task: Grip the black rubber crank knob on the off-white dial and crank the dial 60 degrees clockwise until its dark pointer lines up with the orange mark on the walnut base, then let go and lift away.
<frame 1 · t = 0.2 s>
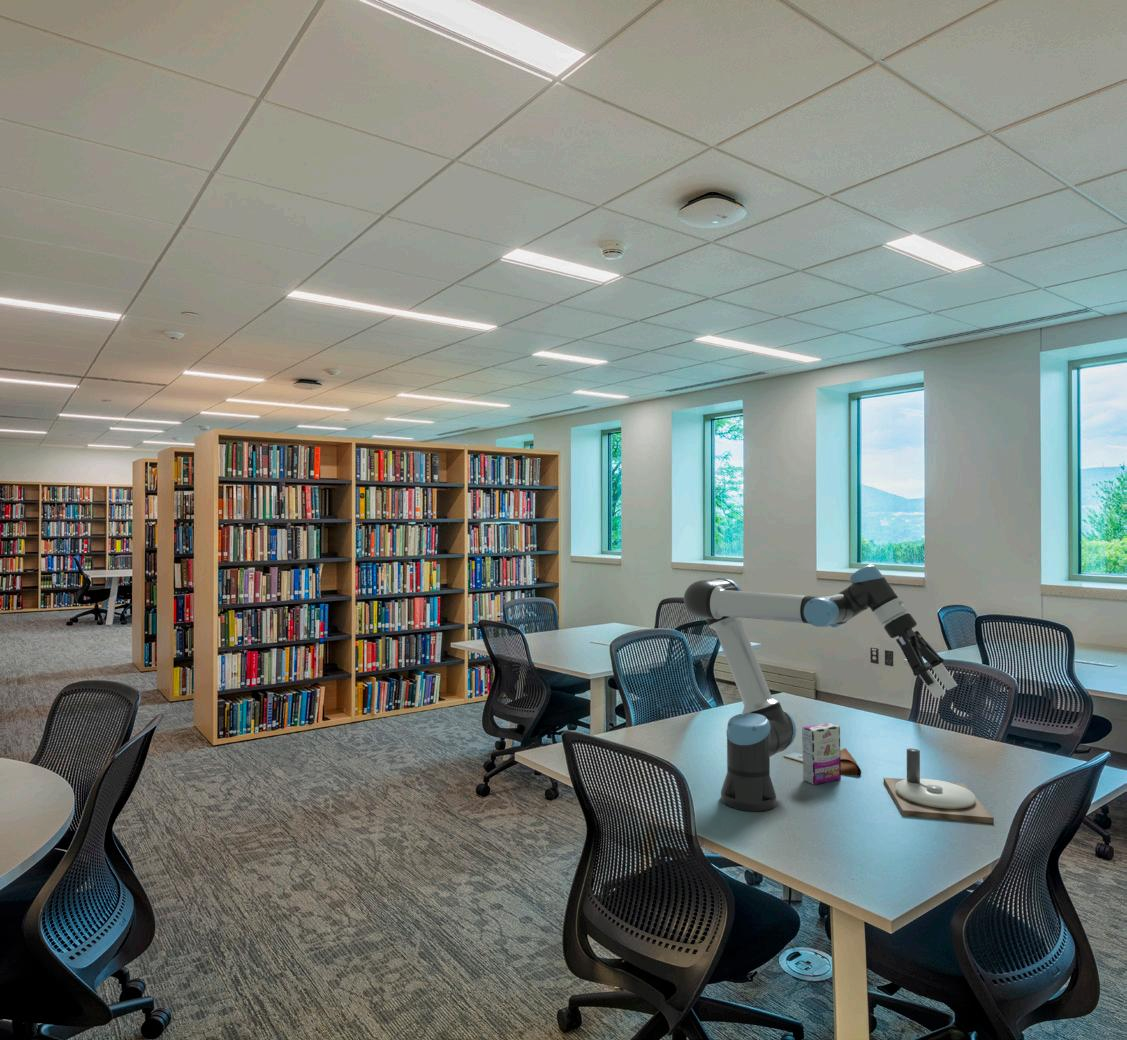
hand: (946, 692, 185), 36 cm above the table, tool tilted 35°, fingers open, 13 cm apart
dial base: (934, 801, 206), on the table
dial: (934, 776, 206), point 7 cm above the table, hinge at 0.0°
sunglasses case: (841, 768, 236), on the table
candy bar box: (821, 780, 223), on the table
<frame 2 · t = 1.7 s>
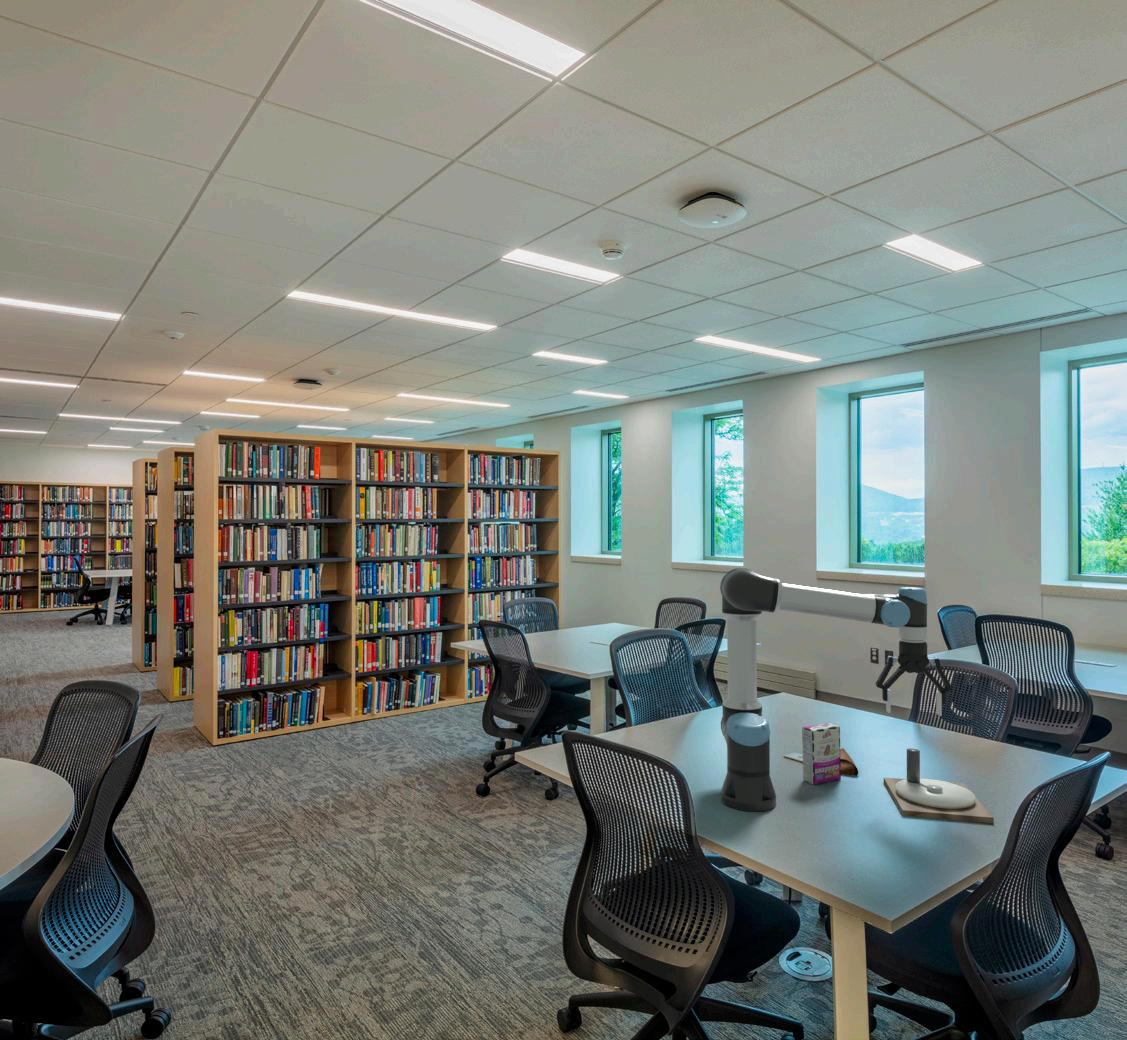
hand: (913, 713, 213), 23 cm above the table, tool pointing down, fingers open, 13 cm apart
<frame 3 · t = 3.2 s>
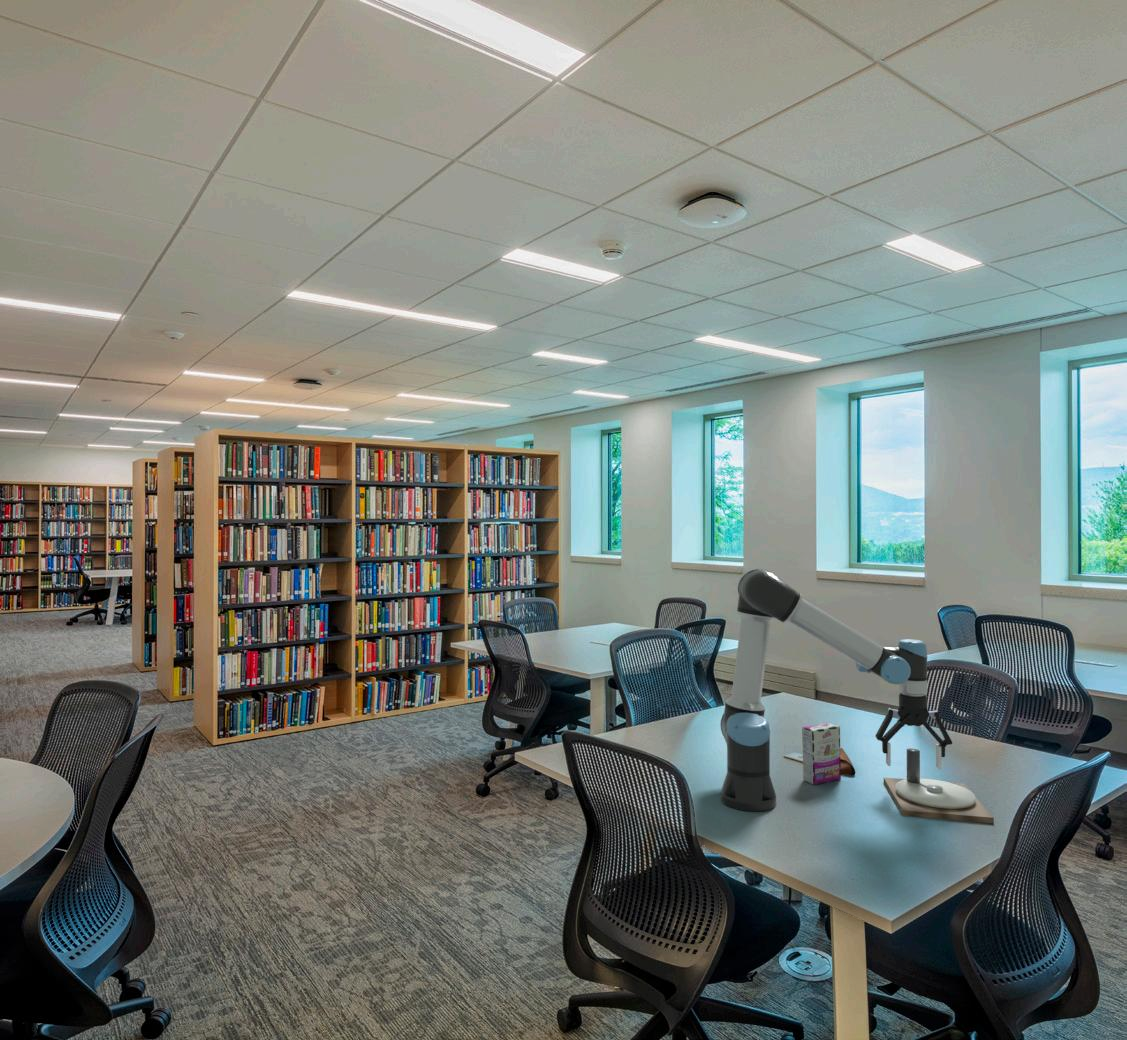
hand: (913, 766, 214), 7 cm above the table, tool pointing down, fingers open, 13 cm apart
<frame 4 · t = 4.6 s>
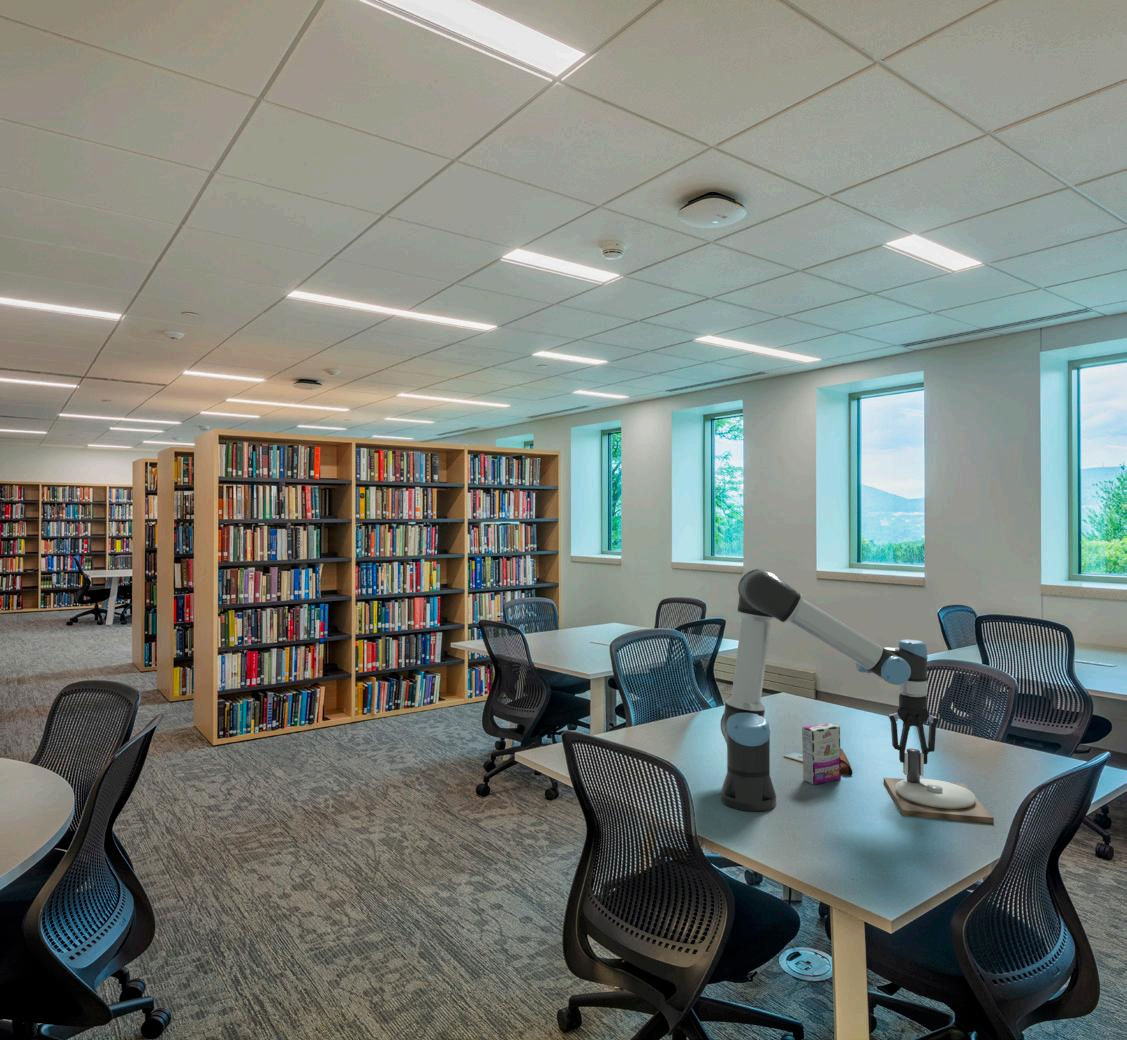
hand: (913, 774, 214), 5 cm above the table, tool pointing down, fingers closed on dial, 3 cm apart
dial: (934, 776, 206), point 7 cm above the table, hinge at 0.0°, touching gripper
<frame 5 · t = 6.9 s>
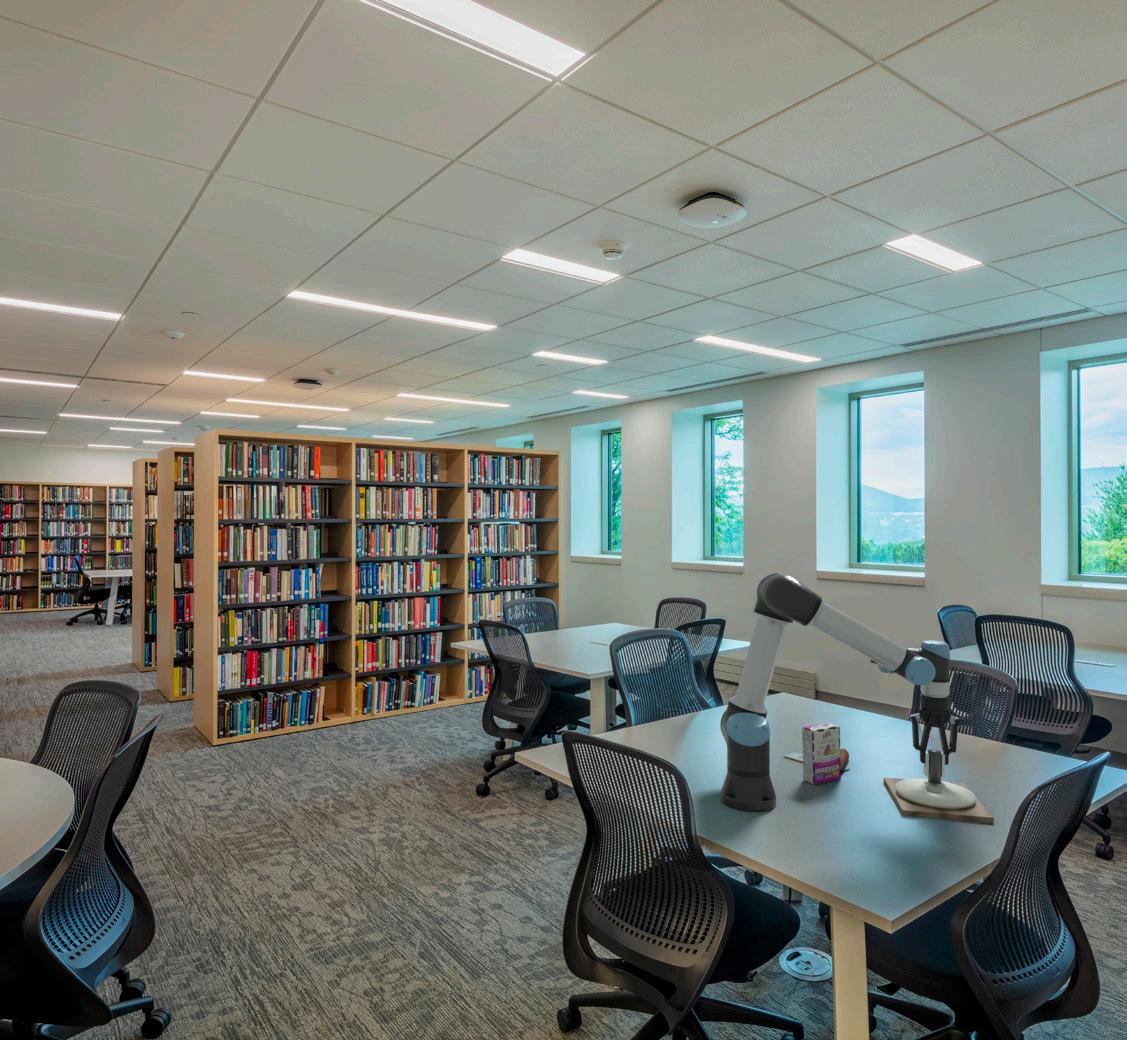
hand: (934, 774, 213), 5 cm above the table, tool pointing down, fingers closed on dial, 4 cm apart
dial: (934, 776, 206), point 7 cm above the table, hinge at -43.8°, touching gripper
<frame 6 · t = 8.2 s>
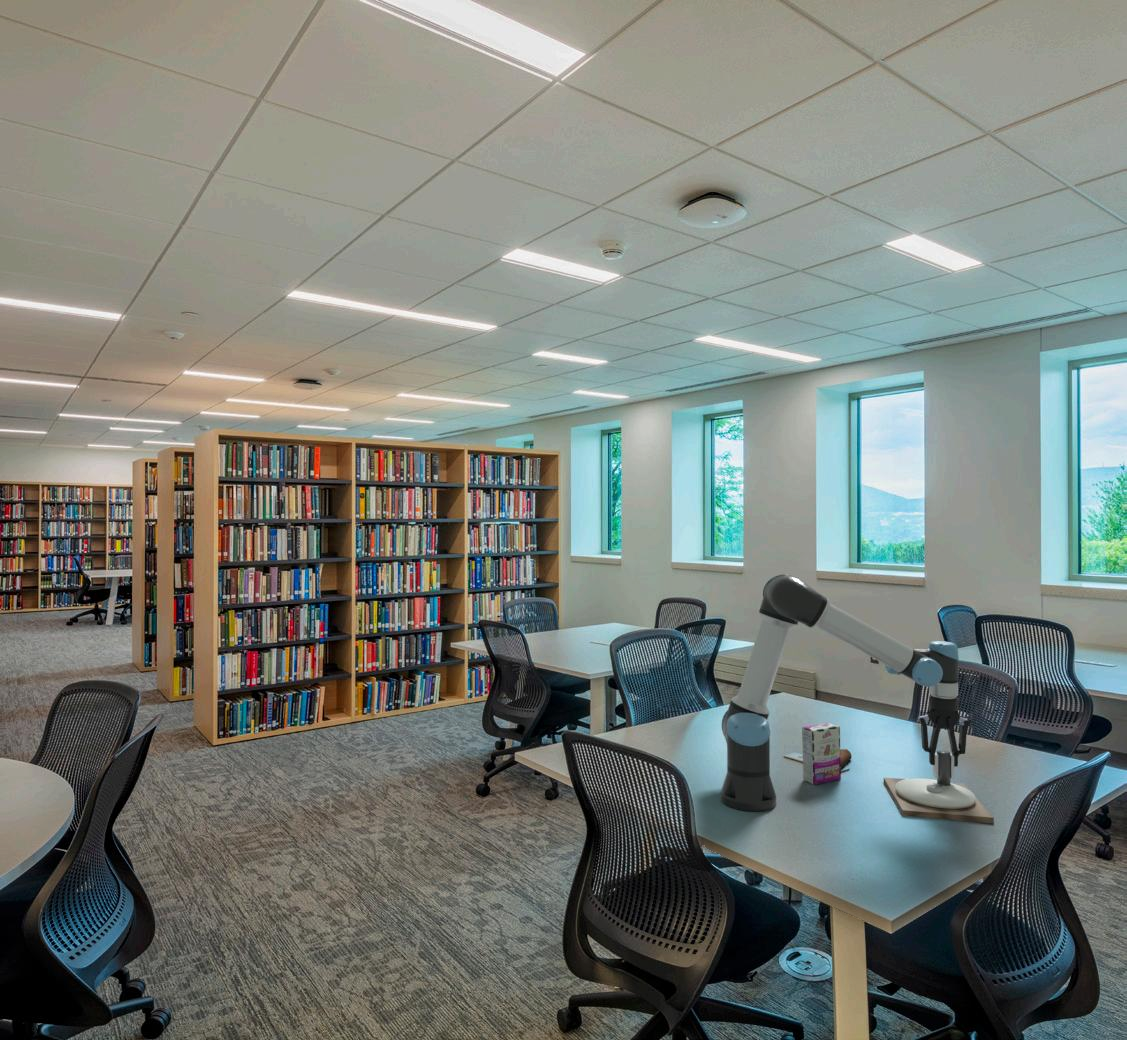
hand: (943, 776, 212), 5 cm above the table, tool pointing down, fingers closed on dial, 3 cm apart
dial: (934, 776, 206), point 7 cm above the table, hinge at -60.9°, touching gripper
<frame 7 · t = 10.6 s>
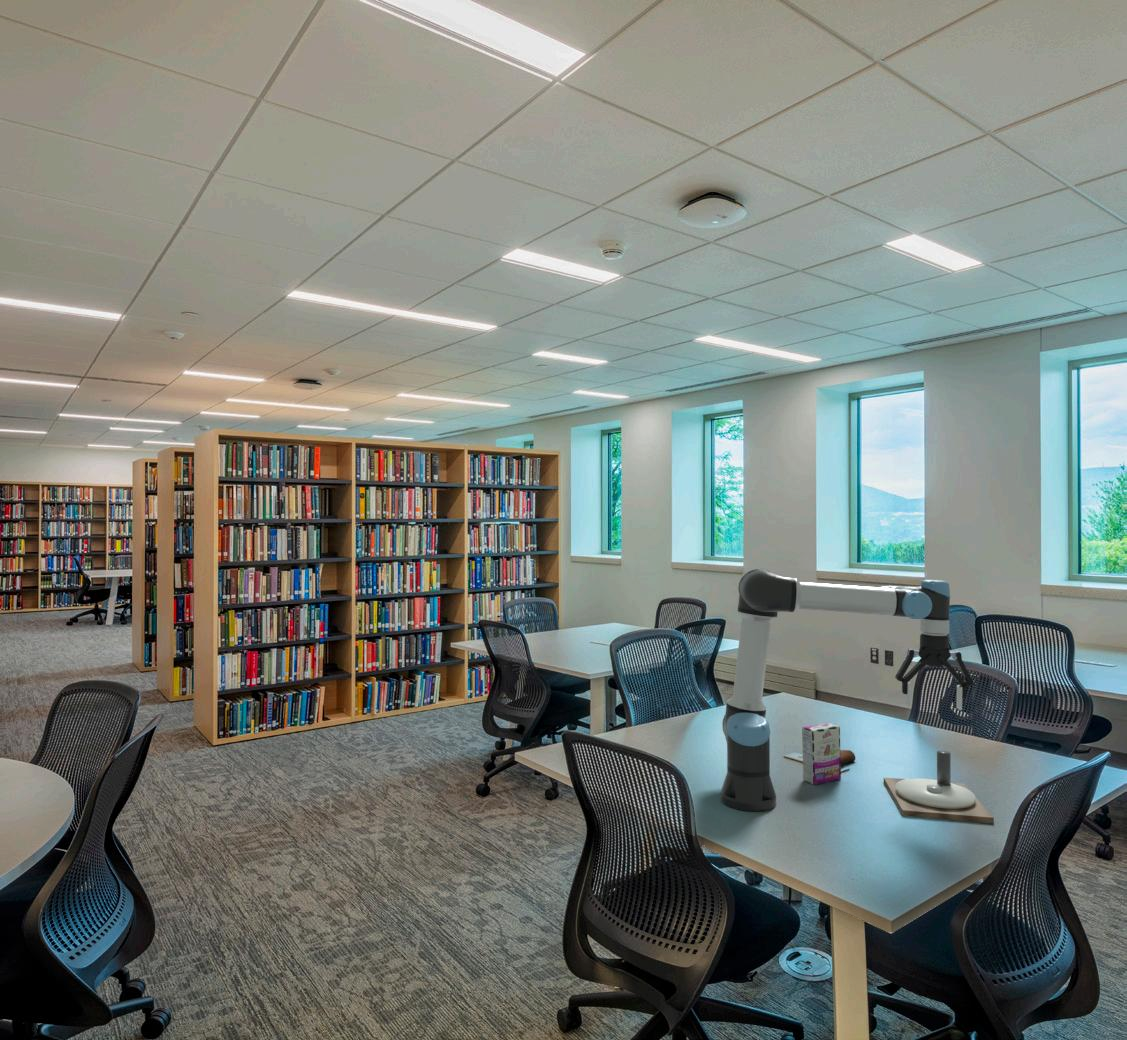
hand: (933, 707, 211), 25 cm above the table, tool pointing down, fingers open, 13 cm apart
dial: (934, 776, 206), point 7 cm above the table, hinge at -61.0°
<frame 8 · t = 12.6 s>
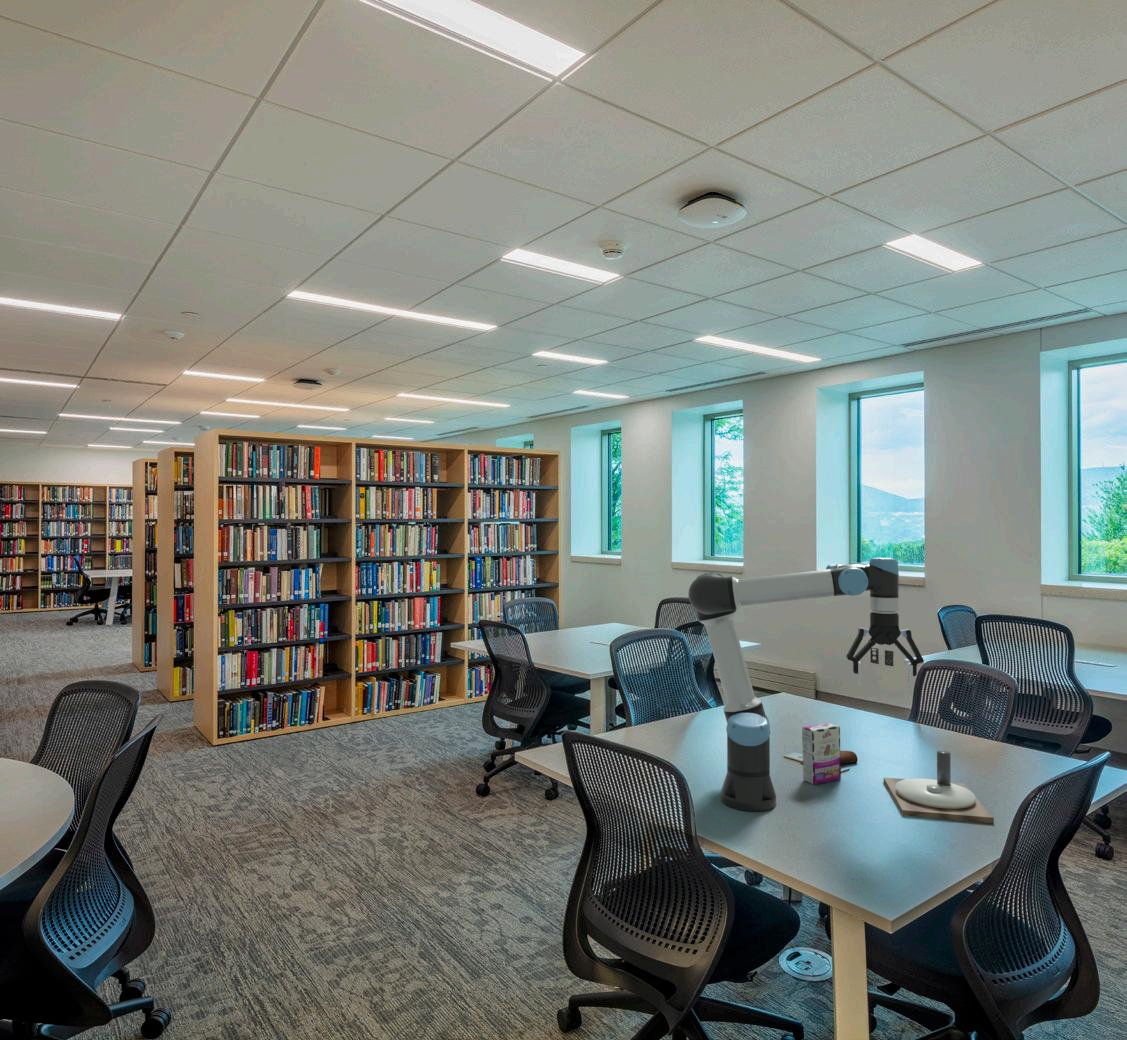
hand: (884, 686, 209), 32 cm above the table, tool pointing down, fingers open, 13 cm apart
at the end: dial at -61° (first picture: +0°); candy bar box moved 0.2 cm from its start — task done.
